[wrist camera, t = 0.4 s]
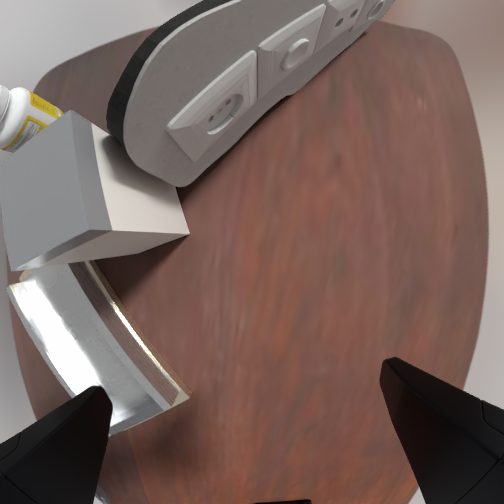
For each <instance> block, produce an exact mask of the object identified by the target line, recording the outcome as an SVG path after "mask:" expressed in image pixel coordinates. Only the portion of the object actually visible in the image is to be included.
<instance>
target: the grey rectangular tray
mask: <svg viewBox="0 0 504 504" xmlns="http://www.w3.org/2000/svg"><path fill="white" fill-rule="evenodd" d="M19 280H20V282H21V283H17V284H12V285H9V286H8V288H7V289H6V290H7V293H8V295H9V297H10V299H11V301H12V303H13V305H14V307H15V309H16V311H17V313H18V315H19V317H20V319H21V321H22V323H23V325H24V326H25V328H26V330H27V332H28V334H29V335H30V337H31V339H32V340H33V342H34V344H35V346H36V347H37V349H38V350H39V352H40V354H41V355H42V357H43V358H44V360H45V361H46V363H47V364H48V366H49V367H50V369H51V370H52V372H53V373H54V375H55V376H56V377H57V379H58V380H59V382H60V383H61V384H62V386H63V387H64V388H65V390H66V391H67V392H68V394H69V395H70V396H71V397H72V398H73V397H75V396H76V395H78V394H79V393H81V392H82V391H84V390H85V389H87V388H88V387H90V386H92V385H95V386H102V387H103V388H104V389H105V391H106V393H107V395H108V396H109V398H110V400H111V402H112V404H113V413H112V418H111V424H110V430H109V436H111V435H114V434H116V433H118V432H121V431H124V430H127V429H129V428H131V427H133V426H135V425H137V424H140V423H142V422H144V421H146V420H148V419H150V418H152V417H154V416H156V415H158V414H160V413H162V412H164V411H166V410H168V409H170V408H172V407H174V406H176V405H178V404H180V403H182V402H183V401H185V400H187V399H189V398H190V396H191V394H192V391H191V390H190V389H189V388H188V387H187V386H186V385H185V384H184V382H183V381H182V380H181V379H180V378H179V377H178V376H177V374H176V373H175V372H174V371H173V370H172V369H171V367H170V366H169V365H168V364H167V363H166V361H165V360H164V359H163V358H162V356H161V355H160V354H159V353H158V351H157V350H156V349H155V348H154V346H153V345H152V344H151V342H150V341H149V340H148V339H147V337H146V336H145V335H144V333H143V332H142V331H141V329H140V328H139V327H138V325H137V324H136V322H135V321H134V320H133V318H132V317H131V315H130V314H129V313H128V311H127V310H126V308H125V307H124V305H123V304H122V302H121V301H120V300H119V298H118V297H117V295H116V294H115V292H114V290H113V289H112V287H111V286H110V284H109V283H108V281H107V280H106V278H105V276H104V275H103V273H102V272H101V270H100V268H99V267H98V265H97V263H96V262H95V260H88V261H81V262H74V263H67V264H60V265H53V266H46V267H40V268H33V269H26V270H25V271H24V272H23V273H22V275H21V276H20V278H19ZM109 436H108V437H109Z"/></svg>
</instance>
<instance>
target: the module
mask: <svg viewBox="0 0 504 504" xmlns="http://www.w3.org/2000/svg"><path fill="white" fill-rule="evenodd" d="M0 207H1V216H2V224H3V230H4V237H5V243H6V249H7V254H8V259H9V263H10V268H11V272H13V271H20V270H26V269H33V268H40V267H46V266H53V265H60V264H67V263H74V262H81V261H88V260H95V259H102V258H109V257H117V256H124V255H131V254H138V253H140V252H143V251H146V250H148V249H151V248H154V247H156V246H159V245H162V244H164V243H167V242H170V241H172V240H175V239H178V238H181V237H183V236H186V235H189V234H190V233H189V230H188V227H187V224H186V220H185V217H184V214H183V211H182V208H181V204H180V201H179V198H178V194H177V191H176V188H175V186H173V185H172V184H170V183H168V182H166V181H164V180H162V179H160V178H158V177H156V176H154V175H152V174H150V173H148V172H146V171H145V170H143V169H141V168H139V167H138V166H137V165H136V164H135V163H134V162H133V160H132V159H131V158H130V156H129V155H128V154H127V151H126V148H125V147H124V146H123V145H122V144H120V143H119V142H118V141H117V140H116V139H115V138H114V137H112V136H111V135H109V134H108V133H106V132H104V131H103V130H101V129H100V128H98V127H97V126H95V125H94V124H92V123H91V122H89V121H88V120H86V119H85V118H83V117H82V116H80V115H79V114H77V113H76V112H74V111H73V110H70V111H68V112H67V113H65V114H64V115H62V116H61V117H59V118H58V119H56V120H55V121H54V122H52V123H51V124H49V125H48V126H47V127H45V128H44V129H43V130H41V131H40V132H39V133H37V134H36V135H35V136H34V137H32V138H31V139H30V140H29V141H27V142H26V143H25V144H24V145H22V146H21V147H20V148H19V149H18V150H17V151H15V152H14V153H13V154H12V155H11V156H10V157H9V158H8V159H7V160H5V161H4V162H3V163H2V164H1V165H0Z"/></svg>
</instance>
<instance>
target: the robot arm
mask: <svg viewBox="0 0 504 504" xmlns="http://www.w3.org/2000/svg"><path fill="white" fill-rule="evenodd" d="M380 386H381V389H382V392H383V395H384V398H385V402H386V405H387V408H388V411H389V414H390V418H391V421H392V424H393V426H394V428H395V431H396V433H397V435H398V437H399V440H400V442H401V444H402V446H403V449H404V451H405V453H406V456H407V458H408V460H409V463H410V465H411V468H412V470H413V472H414V475H415V477H416V480H417V482H418V485H419V487H420V490H421V492H422V495H423V497H424V500H425V503H426V504H504V410H503V409H501V408H499V407H497V406H494V405H492V404H490V403H488V402H486V401H484V400H480V399H479V398H477V397H475V396H473V395H470V394H469V393H467V392H465V391H463V390H461V389H459V388H457V387H455V386H453V385H451V384H449V383H446V382H444V381H442V380H440V379H438V378H436V377H435V376H433V375H431V374H429V373H427V372H425V371H423V370H421V369H419V368H417V367H415V366H413V365H411V364H409V363H407V362H405V361H403V360H401V359H399V358H397V357H392V358H389V359H385V360H384V361H383V363H382V368H381V374H380ZM112 413H113V404H112V402H111V400H110V398H109V396H108V395H107V393H106V391H105V389H104V388H103V387H102V386H95V385H92V386H90V387H88V388H87V389H85V390H84V391H82V392H81V393H79V394H78V395H76V396H75V397H73V398H72V399H70V400H69V401H67V402H66V403H64V404H63V405H61V406H60V407H58V408H57V409H55V410H54V411H52V412H50V413H49V414H47V415H46V416H44V417H43V418H41V419H40V420H38V421H37V422H35V423H34V424H32V425H31V426H29V427H27V428H26V429H24V430H23V431H22V432H19V433H18V434H16V435H15V436H13V437H11V438H10V439H8V440H6V441H5V442H3V443H1V444H0V504H93V501H94V497H95V492H96V487H97V483H98V479H99V474H100V470H101V466H102V462H103V458H104V454H105V451H106V446H107V442H108V436H109V430H110V424H111V418H112ZM257 504H312V503H311V500H300V501H290V502H277V503H257Z"/></svg>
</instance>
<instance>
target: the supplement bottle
mask: <svg viewBox="0 0 504 504" xmlns="http://www.w3.org/2000/svg"><path fill="white" fill-rule="evenodd" d="M64 114H65V112H63V111H62V110H60V109H59V108H57V107H55V106H54V105H52V104H50V103H49V102H47V101H45V100H43V99H42V98H40V97H38V96H37V95H35V94H33V93H32V92H30V91H28V90H26V89H24V88H20V87H18V88H15V89H13V90H11V91H9V90H8V89H7V88H6V87H3V86H1V85H0V149H2V150H5V151H9V152H12V153H14V152H15V151H17V150H18V149H19V148H20V147H21V146H22V145H24V144H25V143H26V142H27V141H29V140H30V139H31V138H32V137H34V136H35V135H36V134H37V133H39V132H40V131H41V130H43V129H44V128H45V127H47V126H48V125H49V124H51V123H52V122H54V121H55V120H56V119H58V118H59V117H61V116H62V115H64Z"/></svg>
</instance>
